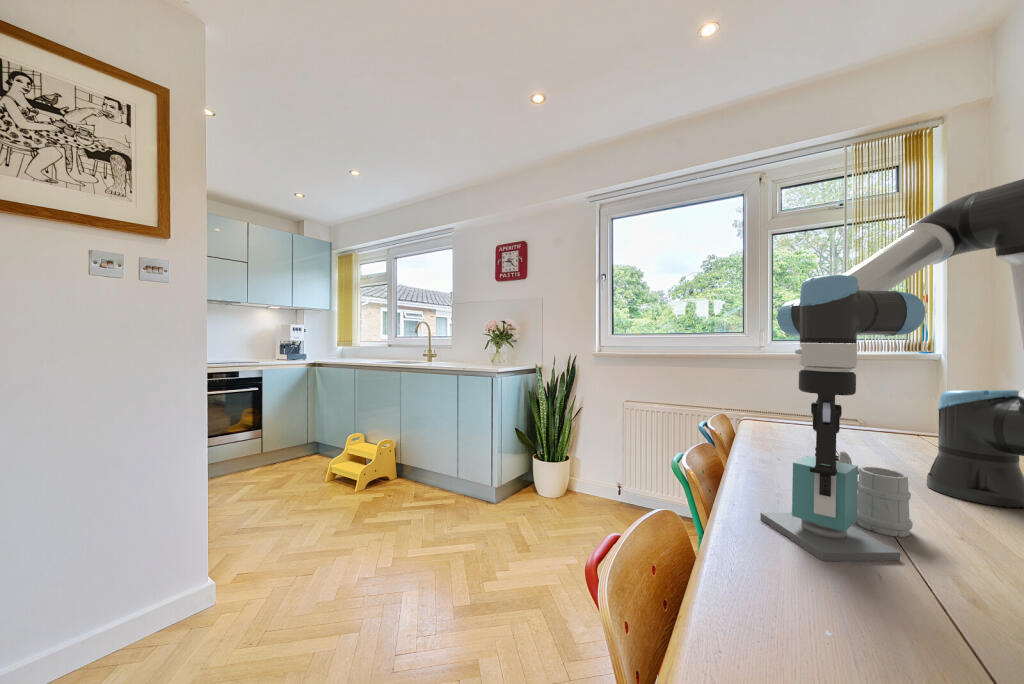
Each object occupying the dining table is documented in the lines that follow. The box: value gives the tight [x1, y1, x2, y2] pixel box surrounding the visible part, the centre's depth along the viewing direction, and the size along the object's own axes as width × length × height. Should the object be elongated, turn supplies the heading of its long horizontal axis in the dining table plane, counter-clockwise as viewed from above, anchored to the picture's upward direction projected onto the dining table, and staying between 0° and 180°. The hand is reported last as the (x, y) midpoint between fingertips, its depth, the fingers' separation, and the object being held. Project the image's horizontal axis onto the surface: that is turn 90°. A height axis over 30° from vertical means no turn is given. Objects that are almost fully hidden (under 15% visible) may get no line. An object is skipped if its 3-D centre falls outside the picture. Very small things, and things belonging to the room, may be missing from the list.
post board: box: [760, 512, 901, 562], centre depth 67 cm, size 12×14×8 cm
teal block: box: [791, 455, 859, 532], centre depth 67 cm, size 7×7×9 cm
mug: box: [839, 450, 913, 538], centre depth 73 cm, size 8×12×12 cm, turn 28°
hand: (824, 505), depth 67 cm, fingers closed on teal block, 8 cm apart
